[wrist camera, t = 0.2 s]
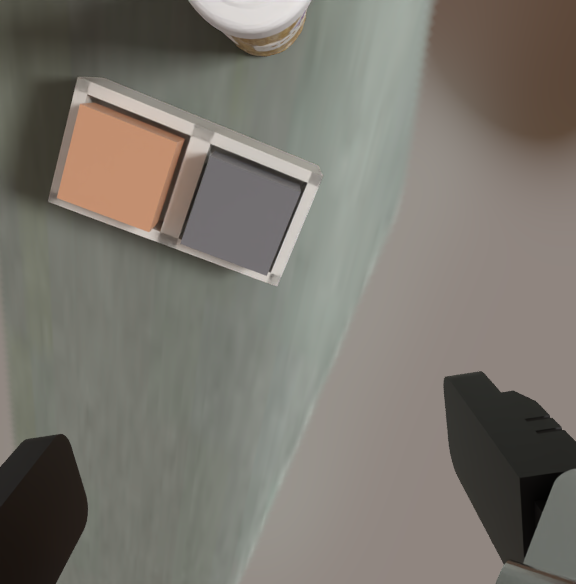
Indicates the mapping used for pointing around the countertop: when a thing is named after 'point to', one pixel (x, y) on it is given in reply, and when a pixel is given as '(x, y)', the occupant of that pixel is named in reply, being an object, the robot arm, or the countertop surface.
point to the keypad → (191, 167)
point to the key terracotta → (119, 166)
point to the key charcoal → (240, 213)
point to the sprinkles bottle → (256, 22)
